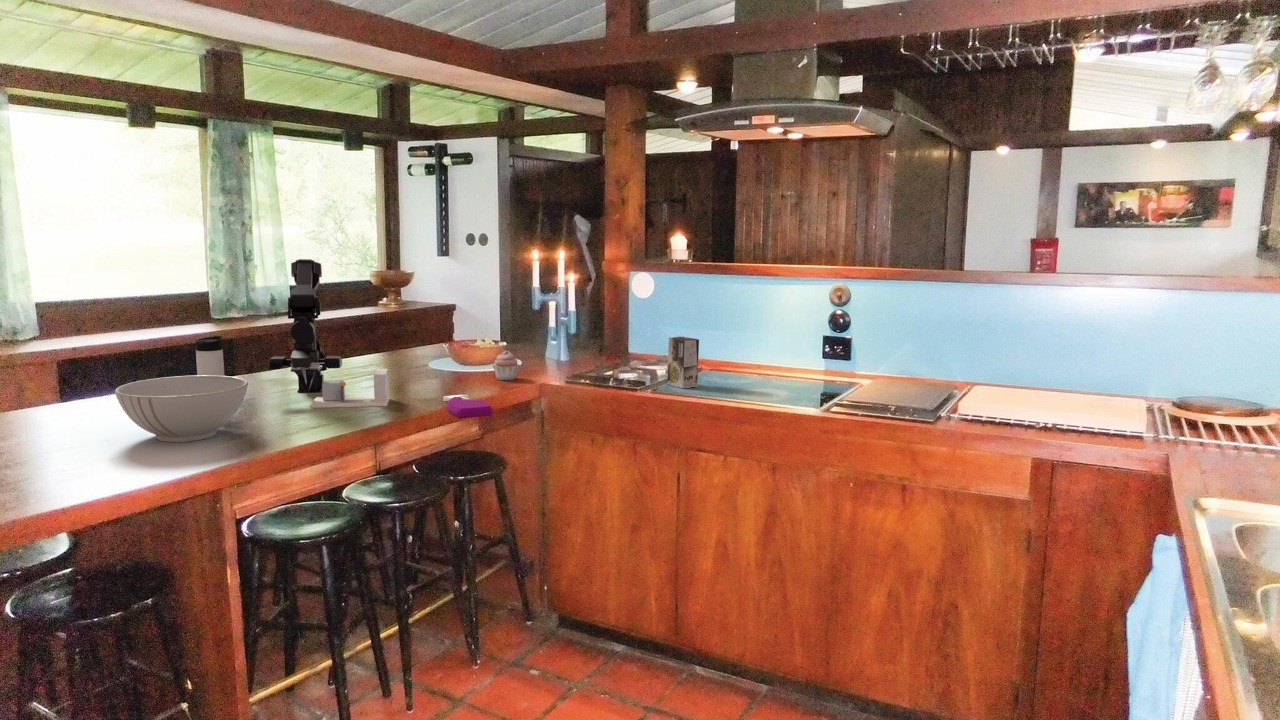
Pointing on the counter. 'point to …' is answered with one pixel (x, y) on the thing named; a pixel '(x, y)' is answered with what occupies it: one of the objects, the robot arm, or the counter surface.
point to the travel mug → (210, 356)
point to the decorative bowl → (182, 405)
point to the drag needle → (342, 390)
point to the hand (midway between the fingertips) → (306, 392)
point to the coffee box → (683, 362)
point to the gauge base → (360, 401)
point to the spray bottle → (467, 406)
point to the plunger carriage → (331, 390)
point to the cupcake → (506, 366)
